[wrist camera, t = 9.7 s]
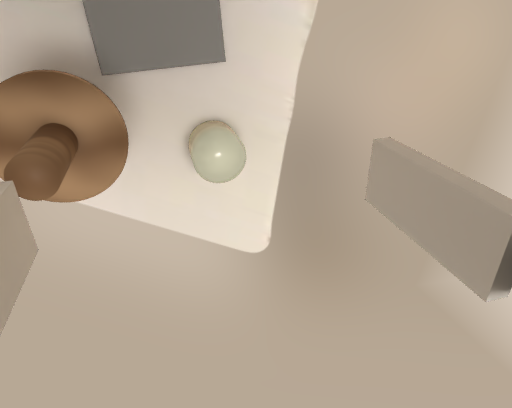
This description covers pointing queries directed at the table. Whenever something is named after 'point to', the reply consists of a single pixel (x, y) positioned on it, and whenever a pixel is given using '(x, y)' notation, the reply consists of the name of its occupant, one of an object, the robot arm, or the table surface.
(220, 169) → the cream capsule cylinder
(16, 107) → the walnut lid
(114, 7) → the mat
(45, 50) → the table surface
